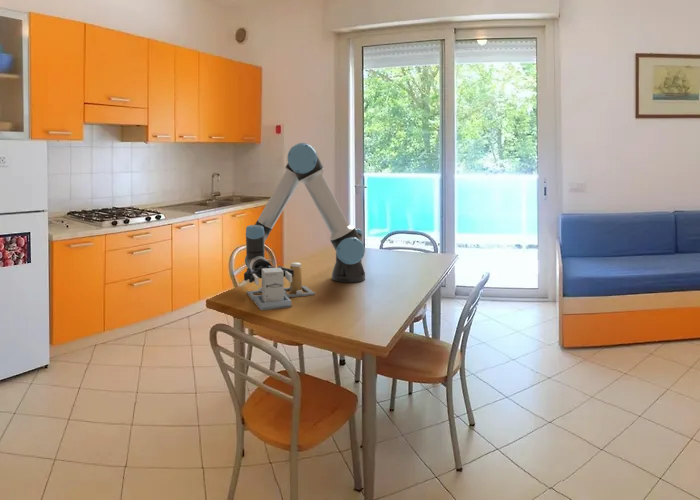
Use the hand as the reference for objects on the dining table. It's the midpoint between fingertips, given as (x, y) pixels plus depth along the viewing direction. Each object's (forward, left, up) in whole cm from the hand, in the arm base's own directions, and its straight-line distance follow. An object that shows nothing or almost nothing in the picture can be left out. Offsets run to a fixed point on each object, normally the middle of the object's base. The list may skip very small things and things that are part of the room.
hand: (274, 279), depth 189 cm
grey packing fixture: (-6, -16, -10) cm, 20 cm away
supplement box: (0, -4, -10) cm, 10 cm away
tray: (0, -4, -10) cm, 11 cm away
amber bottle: (-13, -16, -10) cm, 23 cm away
